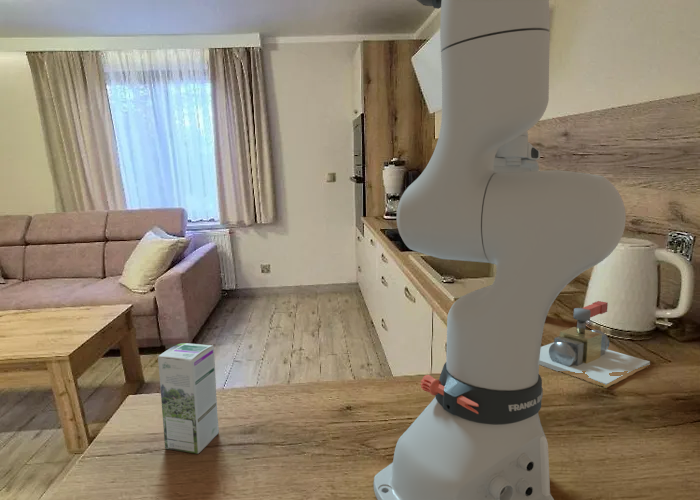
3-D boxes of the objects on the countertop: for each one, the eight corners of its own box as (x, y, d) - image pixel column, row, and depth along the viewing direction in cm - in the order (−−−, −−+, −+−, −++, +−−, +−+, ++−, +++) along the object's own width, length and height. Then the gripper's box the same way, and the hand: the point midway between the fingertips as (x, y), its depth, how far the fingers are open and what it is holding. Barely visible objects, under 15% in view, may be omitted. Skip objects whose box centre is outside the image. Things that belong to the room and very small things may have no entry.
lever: (570, 318, 88) (571, 309, 88) (595, 309, 95) (595, 300, 95) (586, 322, 85) (586, 312, 85) (609, 312, 93) (610, 303, 93)
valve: (574, 371, 82) (576, 330, 81) (546, 361, 87) (548, 323, 86) (610, 355, 90) (613, 318, 89) (583, 347, 95) (585, 312, 94)
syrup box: (220, 432, 62) (215, 343, 60) (197, 456, 56) (191, 358, 55) (188, 428, 63) (182, 340, 62) (162, 450, 58) (156, 354, 56)
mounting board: (606, 388, 75) (606, 383, 75) (520, 358, 90) (521, 353, 90) (649, 365, 86) (650, 361, 85) (566, 341, 101) (566, 337, 100)
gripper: (488, 146, 83) (486, 212, 85) (544, 152, 94) (541, 211, 96) (465, 150, 88) (463, 212, 90) (520, 155, 99) (518, 210, 101)
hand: (504, 211), depth 93 cm, fingers closed
